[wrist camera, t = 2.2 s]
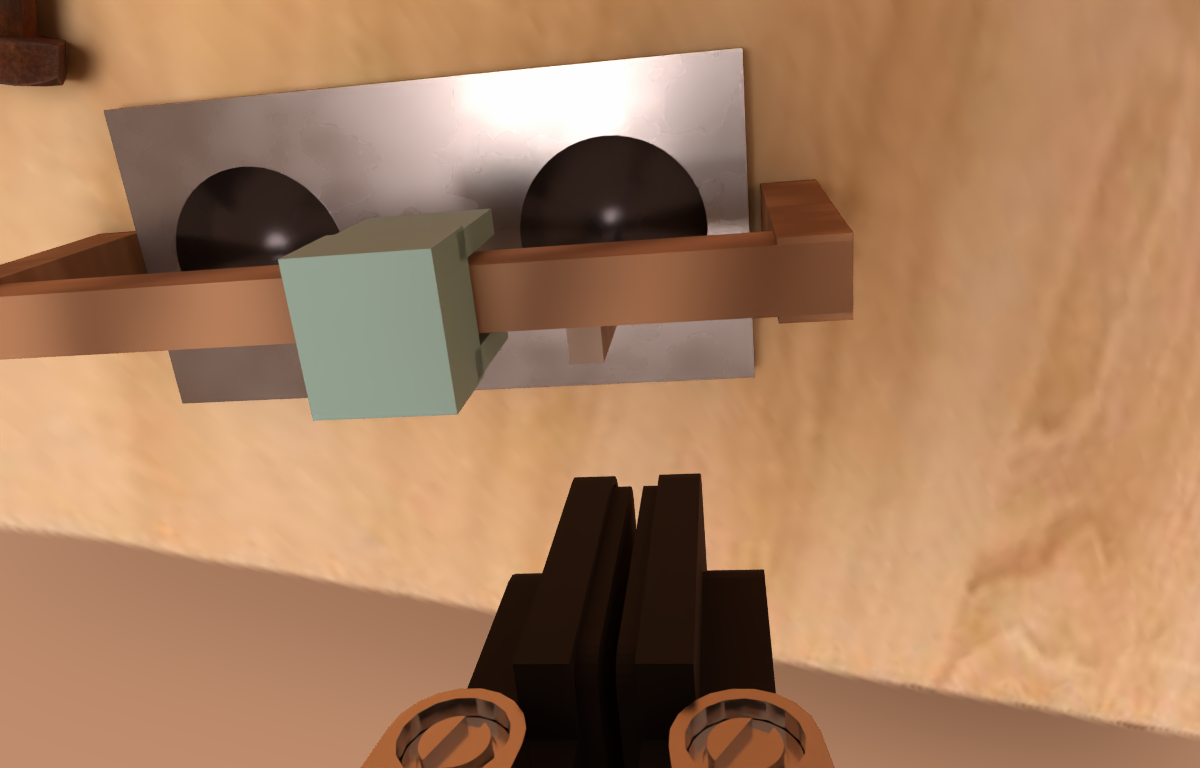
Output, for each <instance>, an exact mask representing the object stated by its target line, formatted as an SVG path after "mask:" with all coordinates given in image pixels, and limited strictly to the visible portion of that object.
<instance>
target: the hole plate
mask: <svg viewBox="0 0 1200 768" xmlns="http://www.w3.org/2000/svg"><path fill="white" fill-rule="evenodd" d="M104 114H105V117H106V121H107V125H108V129H109V132H110V136H111V140H112V143H113V147H114V151H115V155H116V158H117V162H118V166H119V169H120V173H121V177H122V180H123V184H124V188H125V192H126V195H127V199H128V203H129V206H130V210H131V214H132V218H133V221H134V225H135V229H136V232H137V236H138V240H139V243H140V247H141V251H142V255H143V258H144V262H145V266H146V269H147V273H148V274H153V273H167V272H182V271H196V270H211V269H225V268H240V267H255V266H269V265H279V262H278V259H279V258H281V257H283V256H285V255H287V254H289V253H291V252H293V251H295V250H298V249H300V248H302V247H304V246H306V245H308V244H310V243H312V242H314V241H316V240H318V239H320V238H322V237H324V236H326V235H335V234H337V233H339V232H341V231H343V230H345V229H347V228H349V227H351V226H353V225H355V224H357V223H359V222H361V221H363V220H365V219H367V218H372V217H385V216H398V215H412V214H425V213H438V212H451V211H465V210H478V209H491V212H492V220H493V227H494V235H493V236H492V237H491V238H489V239H488V240H487V241H486V242H485V243H484V244H482V245H481V246H480V247H479V248H478V249H477V250H476V251H488V250H502V249H517V248H531V247H546V246H560V245H575V244H589V243H604V242H619V241H633V240H648V239H662V238H677V237H691V236H706V235H721V234H735V233H749V212H748V185H747V158H746V131H745V104H744V77H743V50H742V48H732V49H722V50H712V51H702V52H691V53H681V54H671V55H661V56H651V57H640V58H630V59H620V60H610V61H600V62H589V63H579V64H569V65H559V66H548V67H538V68H528V69H518V70H508V71H497V72H487V73H477V74H467V75H457V76H446V77H436V78H426V79H416V80H406V81H395V82H385V83H375V84H365V85H354V86H344V87H334V88H324V89H314V90H303V91H293V92H283V93H273V94H263V95H252V96H242V97H232V98H222V99H212V100H201V101H191V102H181V103H171V104H160V105H150V106H140V107H130V108H120V109H111V110H104ZM168 351H169V355H170V358H171V362H172V366H173V370H174V373H175V377H176V381H177V384H178V388H179V392H180V395H181V399H182V403H203V402H225V401H247V400H269V399H291V398H308V395H307V391H306V386H305V382H304V377H303V372H302V368H301V363H300V359H299V354H298V349H297V345H296V343H292V344H274V345H255V346H237V347H219V348H201V349H183V350H168ZM749 377H755V374H754V347H753V320H752V318H745V319H727V320H709V321H691V322H672V323H654V324H636V325H618V326H617V327H616V330H615V333H614V336H613V339H612V341H611V344H610V347H609V350H608V353H607V356H606V359H605V361H604V363H591V364H571V365H570V360H569V351H568V342H567V333H566V328H564V329H546V330H527V331H509V332H508V339H507V340H506V342H505V343H504V345H503V346H502V347H501V349H500V350H499V352H498V353H497V354H496V356H495V357H494V359H493V360H492V362H491V363H490V364H489V366H488V367H487V369H486V370H485V372H484V377H483V378H482V380H481V381H480V383H479V384H478V386H477V387H476V388H475V390H487V389H509V388H531V387H553V386H574V385H596V384H618V383H640V382H662V381H684V380H705V379H727V378H749Z"/></svg>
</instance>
